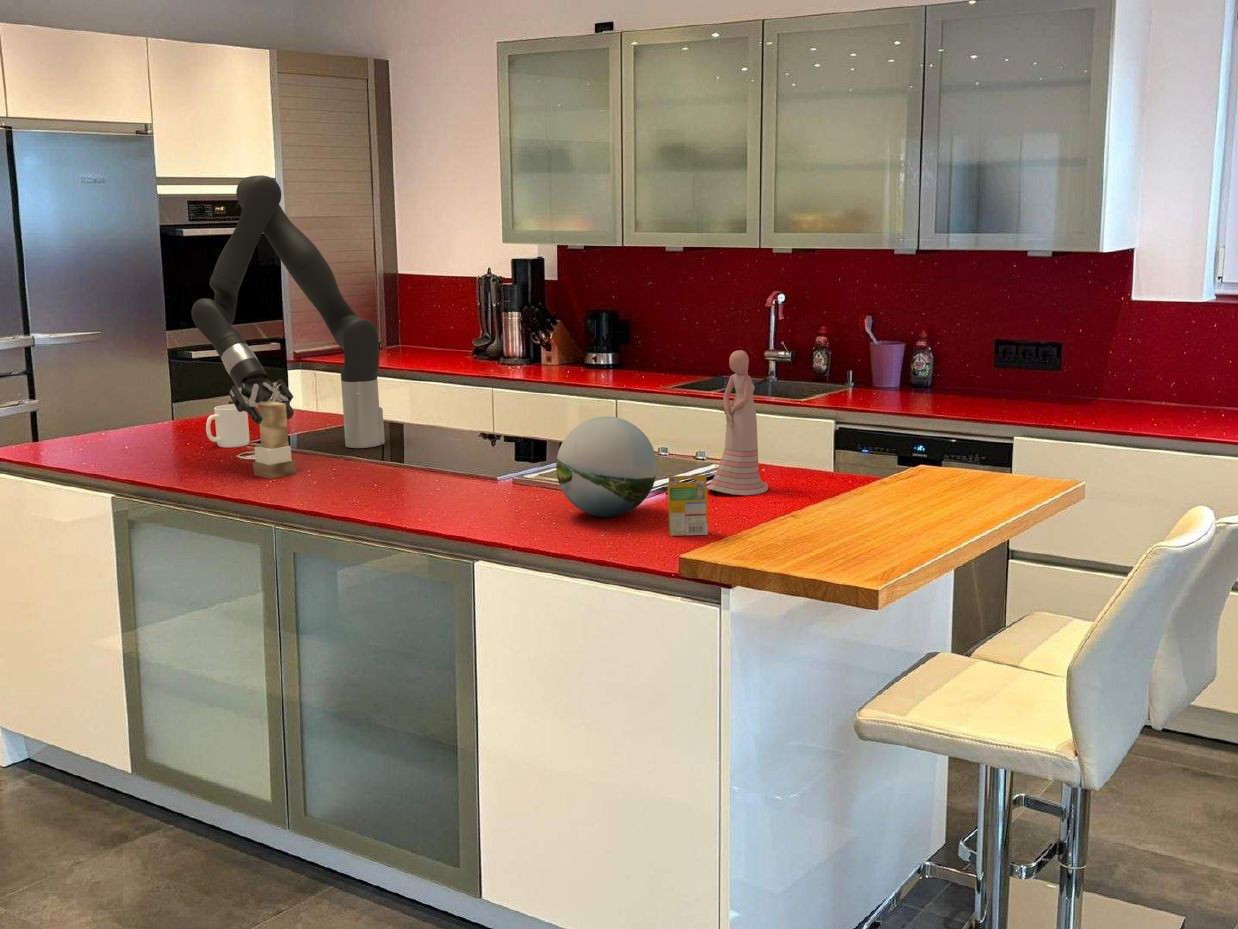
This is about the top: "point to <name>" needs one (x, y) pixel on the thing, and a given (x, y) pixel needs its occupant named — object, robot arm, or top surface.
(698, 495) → the crayon box
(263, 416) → the pillar
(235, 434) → the cup
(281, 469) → the slab base
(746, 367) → the figurine
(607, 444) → the decorative sphere
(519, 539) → the top surface
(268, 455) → the slab top
